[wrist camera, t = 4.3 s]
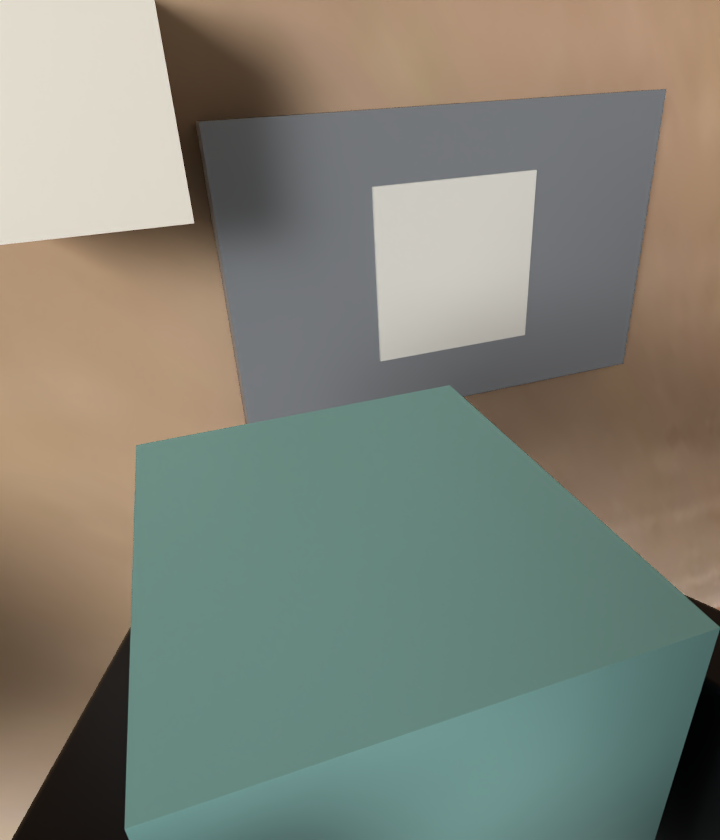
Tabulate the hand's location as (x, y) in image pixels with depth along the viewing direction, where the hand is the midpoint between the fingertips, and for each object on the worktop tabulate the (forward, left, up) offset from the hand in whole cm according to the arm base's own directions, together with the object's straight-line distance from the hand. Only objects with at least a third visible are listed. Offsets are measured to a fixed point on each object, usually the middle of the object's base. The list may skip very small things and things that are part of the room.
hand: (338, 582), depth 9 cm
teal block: (0, 0, -1) cm, 1 cm away
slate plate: (+7, +1, -11) cm, 13 cm away
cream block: (-3, +6, -12) cm, 13 cm away
